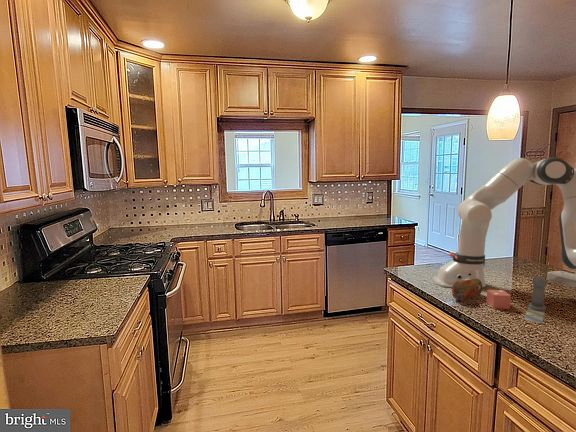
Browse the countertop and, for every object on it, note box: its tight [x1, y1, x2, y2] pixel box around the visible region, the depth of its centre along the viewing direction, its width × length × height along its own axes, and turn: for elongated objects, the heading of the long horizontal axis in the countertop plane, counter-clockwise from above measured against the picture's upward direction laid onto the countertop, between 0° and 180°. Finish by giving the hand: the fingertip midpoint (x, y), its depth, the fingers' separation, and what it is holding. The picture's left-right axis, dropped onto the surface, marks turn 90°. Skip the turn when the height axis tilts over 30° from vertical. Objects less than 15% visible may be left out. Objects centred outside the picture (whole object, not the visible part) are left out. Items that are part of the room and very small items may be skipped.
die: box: [485, 289, 512, 310], centre depth 135 cm, size 6×6×6 cm
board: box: [524, 306, 547, 324], centre depth 128 cm, size 19×12×1 cm, turn 141°
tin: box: [451, 278, 483, 302], centre depth 145 cm, size 15×3×8 cm, turn 114°
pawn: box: [528, 276, 548, 312], centre depth 132 cm, size 5×5×12 cm
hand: (563, 284), depth 135 cm, fingers open, 8 cm apart
